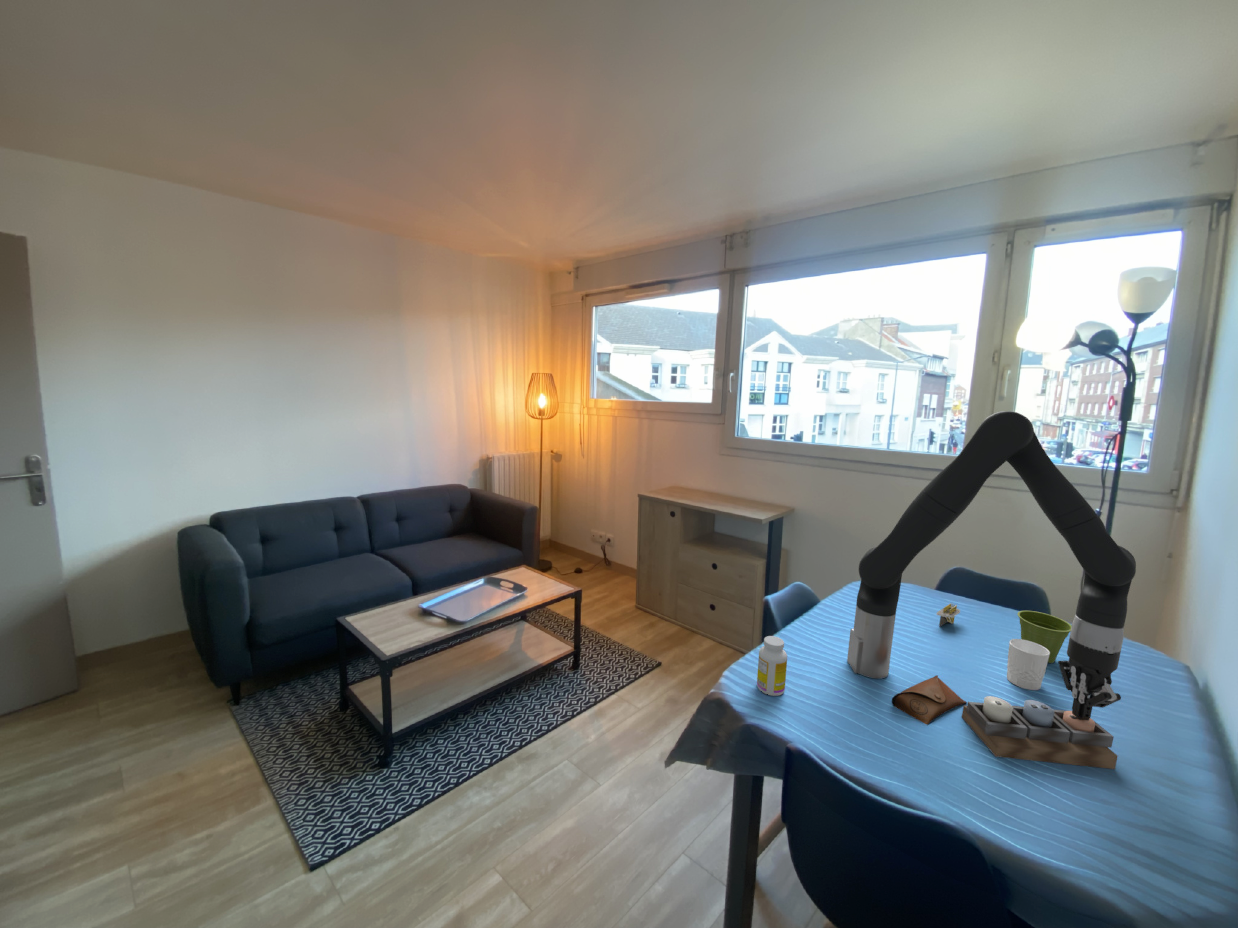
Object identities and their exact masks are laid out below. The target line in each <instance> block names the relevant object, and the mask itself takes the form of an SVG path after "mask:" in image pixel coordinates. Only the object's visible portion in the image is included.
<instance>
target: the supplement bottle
mask: <svg viewBox="0 0 1238 928" xmlns="http://www.w3.org/2000/svg"><path fill="white" fill-rule="evenodd" d="M787 665H788V654H787V652H786V651H785V641H784V640H783V639H782V638H781V637H778V636H774V635H768V636H765V637H764V638H763V646H761V647H760V649H759V651H758V664H757V675H756V676H757V678H756V686H757V688H758V690H759V691H760V692H761V691H762V692H761V693H763V694H765V695H767V694H768V696H770V697H777V696H781V695H782V694H784V693H785V690H786V679H787V667H788V666H787Z"/></svg>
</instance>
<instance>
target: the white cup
mask: <svg viewBox="0 0 1238 928" xmlns="http://www.w3.org/2000/svg"><path fill="white" fill-rule="evenodd" d="M1008 643H1009V646H1008V655H1007V667H1006V668H1007V671H1006V679H1007V680H1008V681H1009V682H1010V683H1011V684H1013V685H1015V686H1016V687H1019V688H1021V689H1024V690H1029V691H1038V690H1041V688H1042V683H1043V680H1044V677H1045V674H1046V671H1047V667H1048V659H1049V655H1050V652H1049V650H1048V649H1046V648H1045V647H1043V646H1041V645H1039V644H1037V643H1034V642H1031V641H1027V640H1022V639H1021V638H1012V639H1010V640H1009V642H1008Z"/></svg>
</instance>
